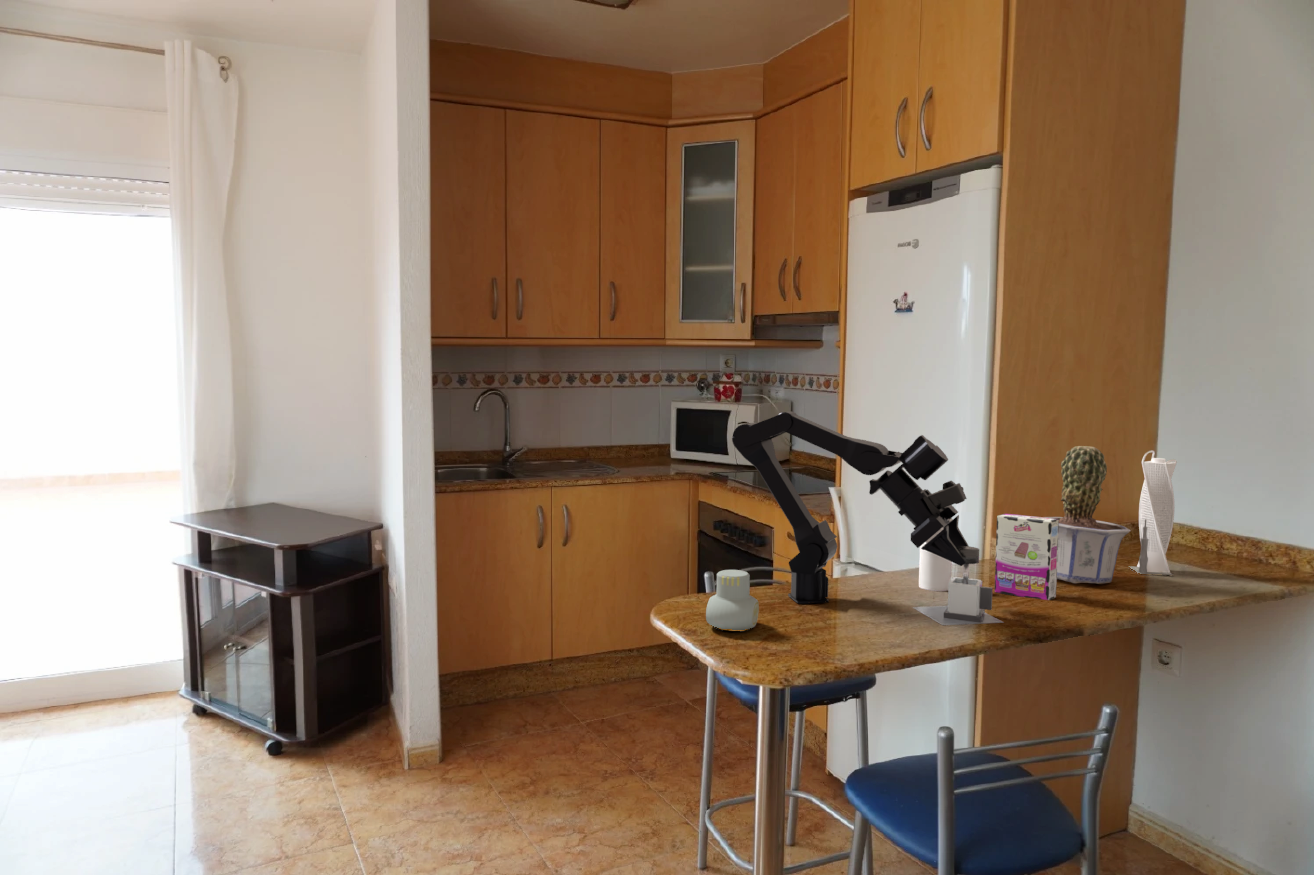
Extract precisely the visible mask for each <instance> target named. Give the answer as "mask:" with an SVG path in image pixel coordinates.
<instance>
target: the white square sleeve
mask: <svg viewBox="0 0 1314 875" xmlns="http://www.w3.org/2000/svg"><path fill="white" fill-rule="evenodd" d="M993 589H994V588H993V587H991V586H990V587H989V586H983V580H982V579H977V578H969V579H968V584H963V577H959V576H954V577H951V580H950V581H949V588H948V590H947V591H948V592H947V597H948V598H947V606H948V607H947V608H946V610H945V611H944V618H949V619H957V620H965V621H972V622H981V620H982V618H983V616H984V614H985V613H986V611H985V610H987V611H992V609H993Z"/></svg>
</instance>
